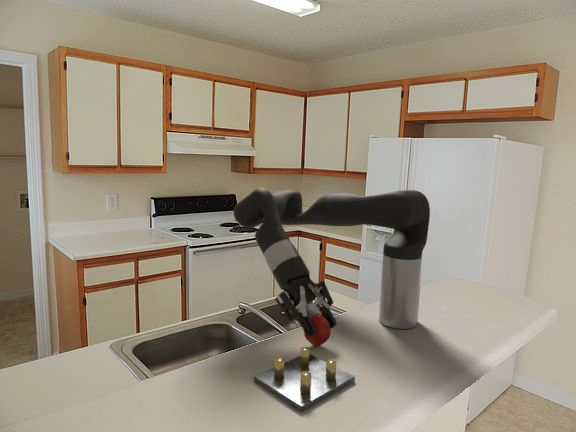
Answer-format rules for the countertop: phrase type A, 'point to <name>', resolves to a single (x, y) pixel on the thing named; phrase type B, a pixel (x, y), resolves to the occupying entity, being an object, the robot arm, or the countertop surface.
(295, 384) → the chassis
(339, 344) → the countertop surface
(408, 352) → the countertop surface
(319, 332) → the onion
